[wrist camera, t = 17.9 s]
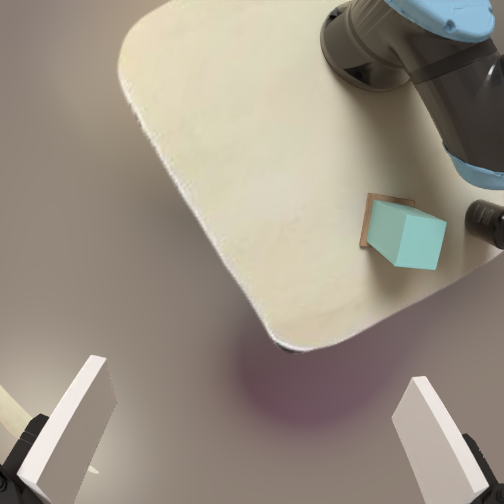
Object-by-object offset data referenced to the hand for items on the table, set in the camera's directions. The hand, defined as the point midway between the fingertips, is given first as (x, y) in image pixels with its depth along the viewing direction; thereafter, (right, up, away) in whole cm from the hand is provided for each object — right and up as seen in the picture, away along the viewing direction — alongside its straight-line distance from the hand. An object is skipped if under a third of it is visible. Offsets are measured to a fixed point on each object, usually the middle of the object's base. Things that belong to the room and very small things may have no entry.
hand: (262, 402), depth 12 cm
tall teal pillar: (+20, +10, +32) cm, 39 cm away
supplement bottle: (+40, +12, +32) cm, 53 cm away
